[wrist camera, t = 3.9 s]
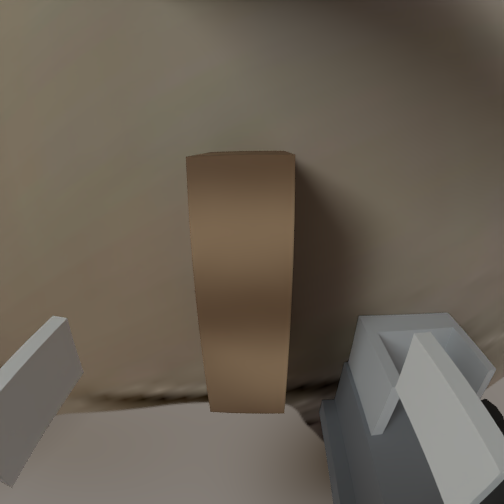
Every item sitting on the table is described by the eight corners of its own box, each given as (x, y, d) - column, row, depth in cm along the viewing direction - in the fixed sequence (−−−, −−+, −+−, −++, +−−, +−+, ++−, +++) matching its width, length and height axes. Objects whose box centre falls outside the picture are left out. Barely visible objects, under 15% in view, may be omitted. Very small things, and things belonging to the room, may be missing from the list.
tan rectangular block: (280, 349, 21) (283, 413, 15) (222, 348, 21) (210, 411, 15) (284, 150, 17) (295, 154, 11) (211, 152, 17) (185, 156, 11)
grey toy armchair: (319, 411, 23) (340, 566, 10) (340, 315, 20) (407, 514, 6) (423, 401, 23) (477, 524, 9) (460, 311, 19) (564, 440, 6)
